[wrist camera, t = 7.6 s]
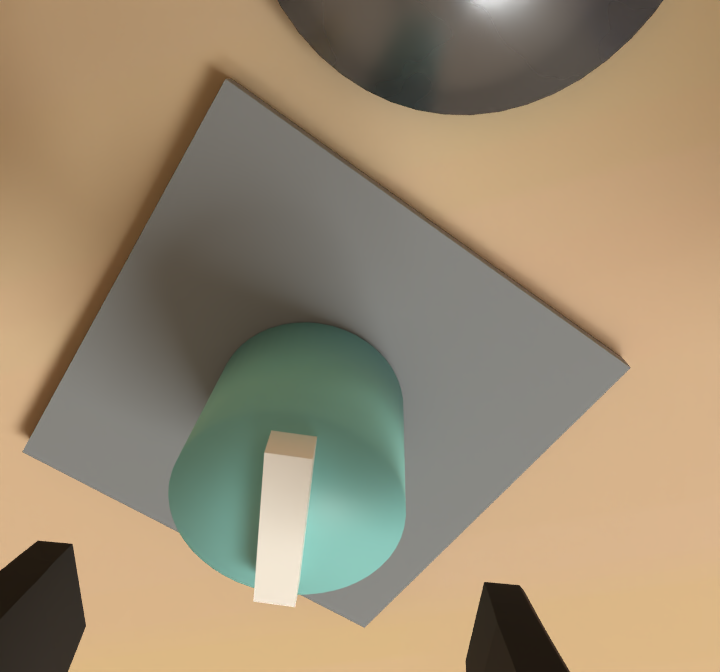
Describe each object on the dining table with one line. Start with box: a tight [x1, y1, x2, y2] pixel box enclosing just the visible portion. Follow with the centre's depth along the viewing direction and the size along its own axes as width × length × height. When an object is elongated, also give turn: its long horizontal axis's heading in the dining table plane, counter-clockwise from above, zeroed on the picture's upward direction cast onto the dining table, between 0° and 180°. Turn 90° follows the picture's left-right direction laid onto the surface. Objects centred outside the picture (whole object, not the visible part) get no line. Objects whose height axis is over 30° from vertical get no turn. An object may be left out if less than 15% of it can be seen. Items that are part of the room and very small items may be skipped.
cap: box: [168, 322, 406, 607], centre depth 14 cm, size 5×5×5 cm
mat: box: [23, 78, 630, 628], centre depth 16 cm, size 12×12×1 cm
